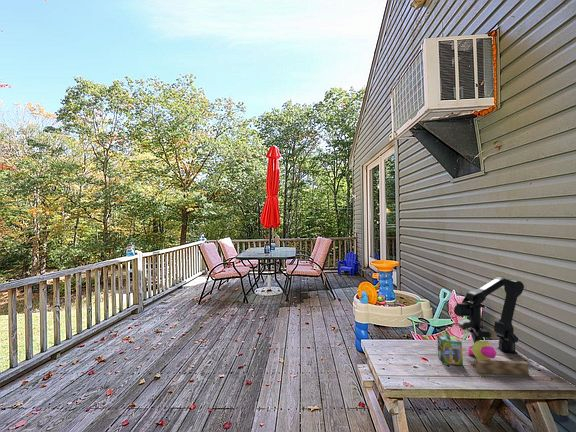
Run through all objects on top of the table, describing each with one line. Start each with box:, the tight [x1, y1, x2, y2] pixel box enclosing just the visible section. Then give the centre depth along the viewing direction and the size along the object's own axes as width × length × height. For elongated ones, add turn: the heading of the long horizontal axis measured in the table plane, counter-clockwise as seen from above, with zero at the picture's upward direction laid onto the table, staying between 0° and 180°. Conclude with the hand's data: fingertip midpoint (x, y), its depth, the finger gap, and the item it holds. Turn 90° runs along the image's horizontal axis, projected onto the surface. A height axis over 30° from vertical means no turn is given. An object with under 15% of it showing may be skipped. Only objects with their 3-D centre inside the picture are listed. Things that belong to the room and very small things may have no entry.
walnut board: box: [475, 359, 530, 376], centre depth 135 cm, size 22×2×5 cm, turn 85°
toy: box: [467, 340, 497, 360], centre depth 149 cm, size 10×18×10 cm, turn 0°
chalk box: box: [436, 330, 464, 366], centre depth 148 cm, size 9×9×15 cm
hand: (475, 344), depth 157 cm, fingers closed
